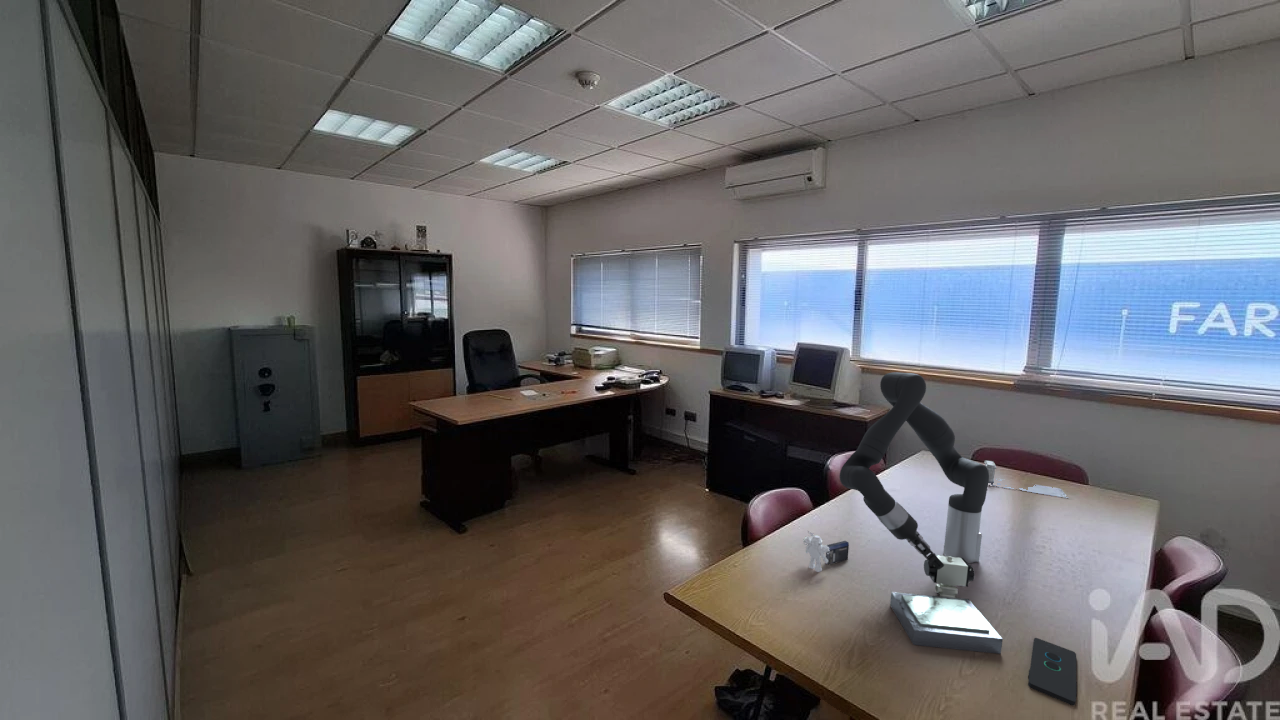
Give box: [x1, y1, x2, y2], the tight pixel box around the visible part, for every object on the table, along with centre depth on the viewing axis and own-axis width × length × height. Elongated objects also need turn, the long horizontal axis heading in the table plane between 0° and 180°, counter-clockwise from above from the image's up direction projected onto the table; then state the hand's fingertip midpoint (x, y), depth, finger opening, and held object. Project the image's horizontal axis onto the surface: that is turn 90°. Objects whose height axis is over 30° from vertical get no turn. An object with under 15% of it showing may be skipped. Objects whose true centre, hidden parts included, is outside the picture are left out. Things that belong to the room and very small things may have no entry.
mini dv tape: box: [825, 540, 850, 565], centre depth 161 cm, size 8×2×6 cm, turn 114°
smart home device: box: [1027, 637, 1078, 707], centre depth 115 cm, size 8×2×20 cm
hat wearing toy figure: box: [803, 530, 830, 573], centre depth 156 cm, size 9×4×12 cm, turn 35°
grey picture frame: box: [889, 591, 1003, 655], centre depth 129 cm, size 20×16×5 cm
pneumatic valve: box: [923, 554, 975, 598], centre depth 143 cm, size 6×12×12 cm, turn 78°
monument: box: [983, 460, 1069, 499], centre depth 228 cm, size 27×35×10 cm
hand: (934, 559), depth 143 cm, fingers open, 8 cm apart
